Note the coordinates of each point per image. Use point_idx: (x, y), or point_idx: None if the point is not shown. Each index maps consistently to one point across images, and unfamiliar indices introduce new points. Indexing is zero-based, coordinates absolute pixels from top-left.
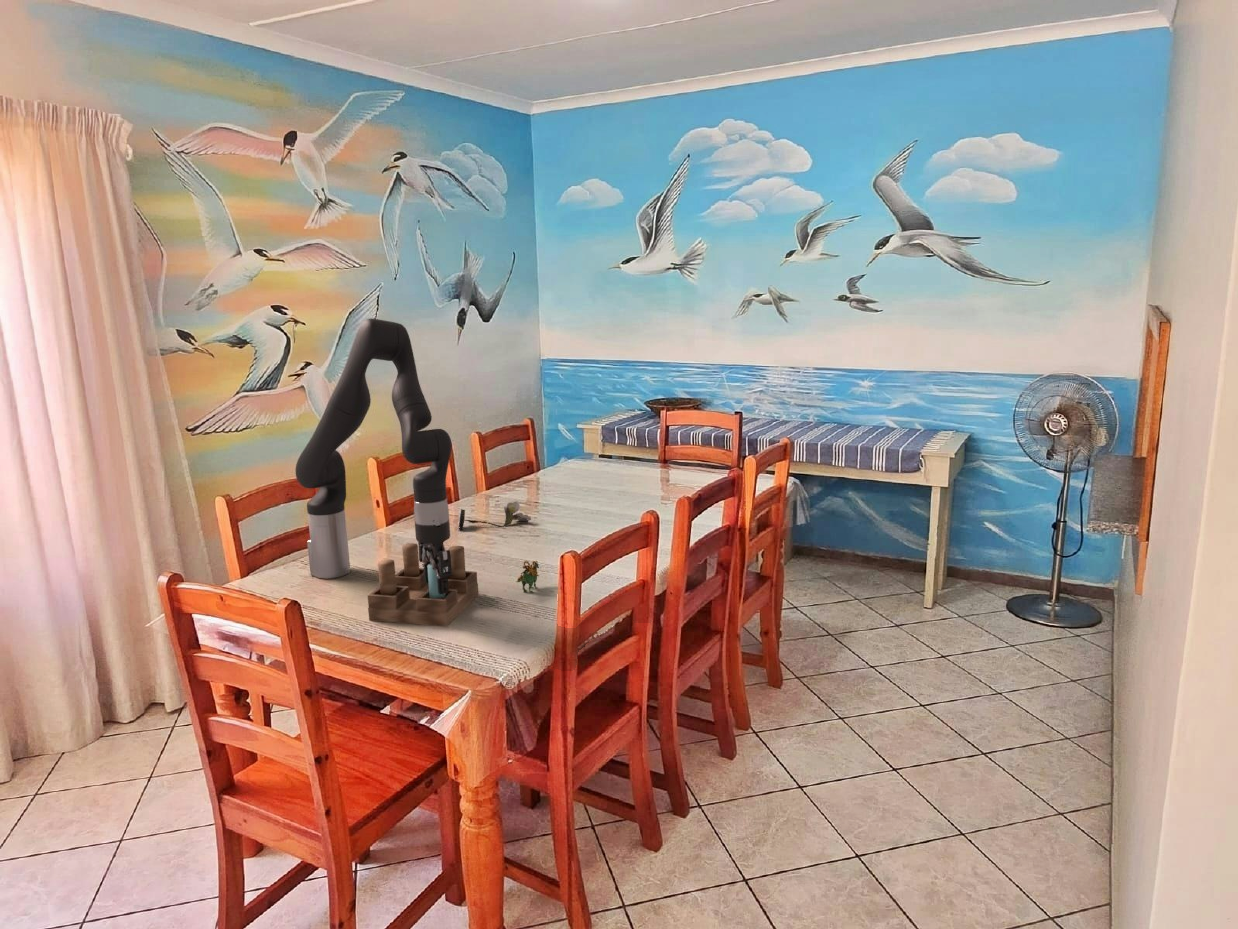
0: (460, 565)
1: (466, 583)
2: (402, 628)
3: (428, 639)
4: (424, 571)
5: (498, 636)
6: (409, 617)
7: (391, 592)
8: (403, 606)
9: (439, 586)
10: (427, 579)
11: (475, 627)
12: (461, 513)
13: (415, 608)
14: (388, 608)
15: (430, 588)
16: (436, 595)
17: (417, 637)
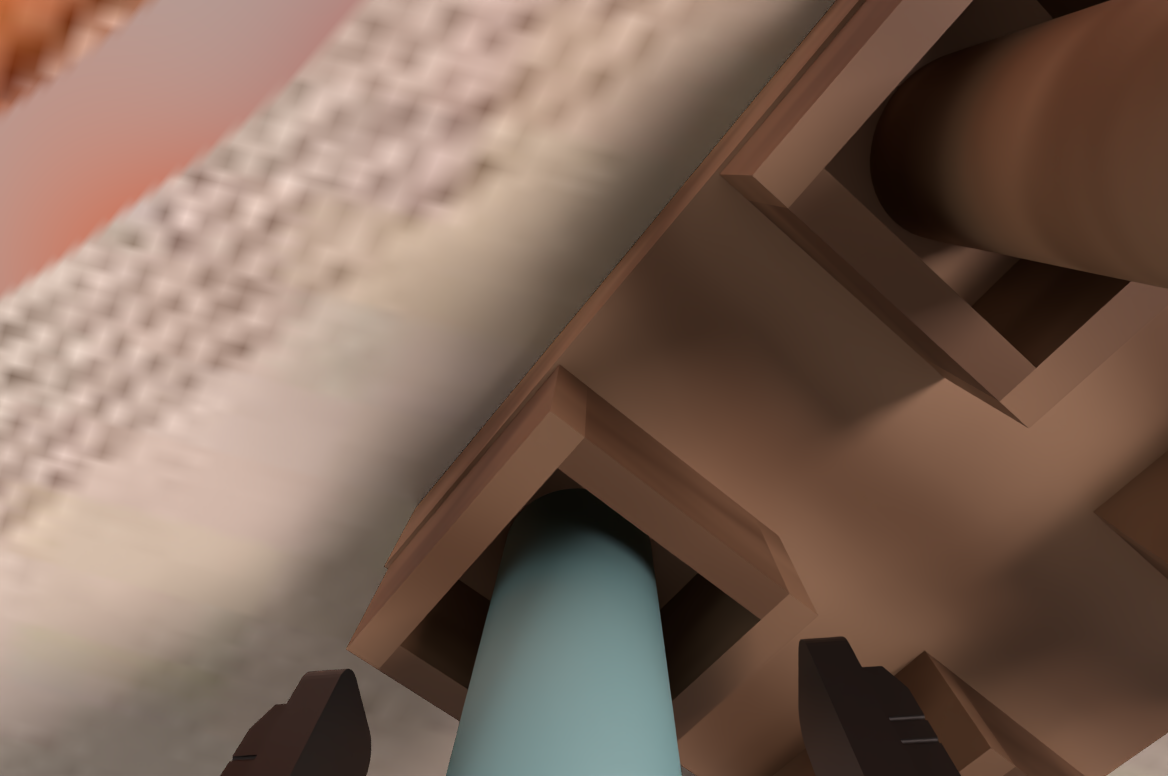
0: None
1: None
2: (541, 186)
3: (226, 327)
4: (888, 764)
5: (120, 726)
6: (613, 279)
7: (953, 164)
8: (770, 268)
9: (263, 759)
10: (816, 684)
11: (316, 657)
12: None
13: (645, 364)
14: (790, 95)
15: (527, 631)
16: (485, 621)
17: (297, 258)
